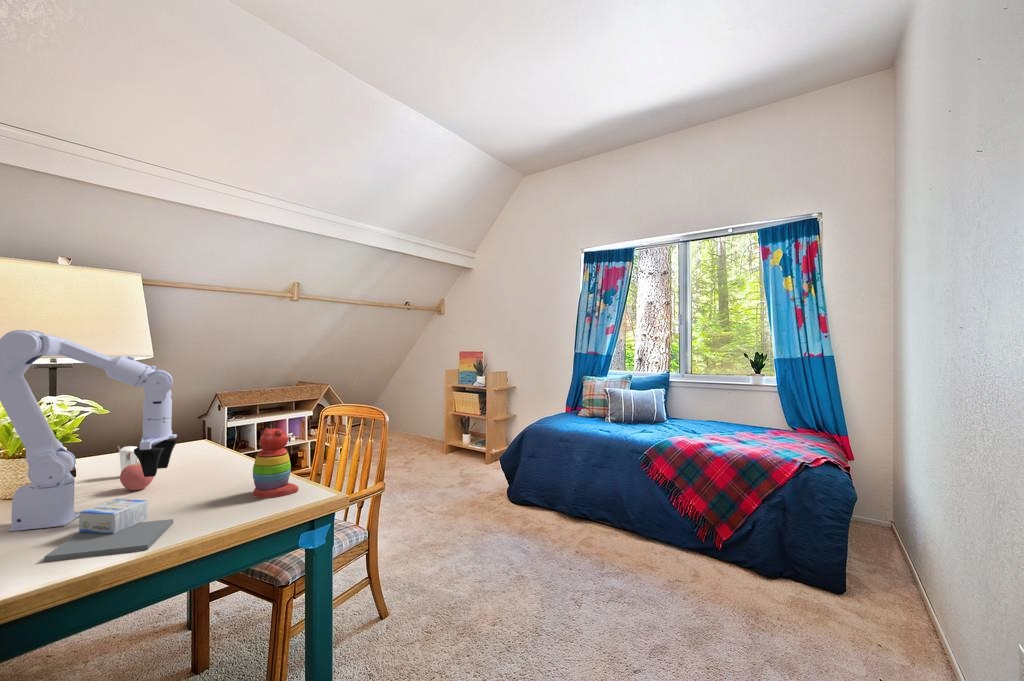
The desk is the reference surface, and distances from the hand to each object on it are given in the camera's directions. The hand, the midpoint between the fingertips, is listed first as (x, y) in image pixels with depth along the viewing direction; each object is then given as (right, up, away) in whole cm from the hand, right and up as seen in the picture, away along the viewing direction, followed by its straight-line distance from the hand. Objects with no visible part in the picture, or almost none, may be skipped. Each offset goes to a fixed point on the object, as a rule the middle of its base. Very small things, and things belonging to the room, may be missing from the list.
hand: (156, 472), depth 114 cm
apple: (-15, -9, +13) cm, 22 cm away
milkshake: (-28, -9, +24) cm, 38 cm away
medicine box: (+3, -5, -10) cm, 12 cm away
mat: (+7, -9, -20) cm, 23 cm away
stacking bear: (+23, -9, +12) cm, 28 cm away
